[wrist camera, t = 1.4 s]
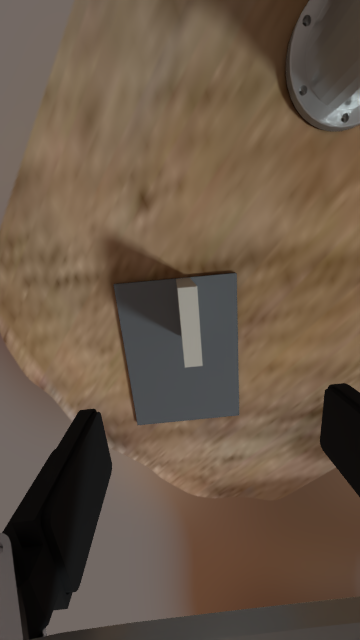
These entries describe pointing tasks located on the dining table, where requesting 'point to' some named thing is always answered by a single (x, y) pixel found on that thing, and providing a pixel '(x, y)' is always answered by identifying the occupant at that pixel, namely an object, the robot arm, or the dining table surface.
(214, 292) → the mat
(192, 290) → the white flat box
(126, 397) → the dining table surface
